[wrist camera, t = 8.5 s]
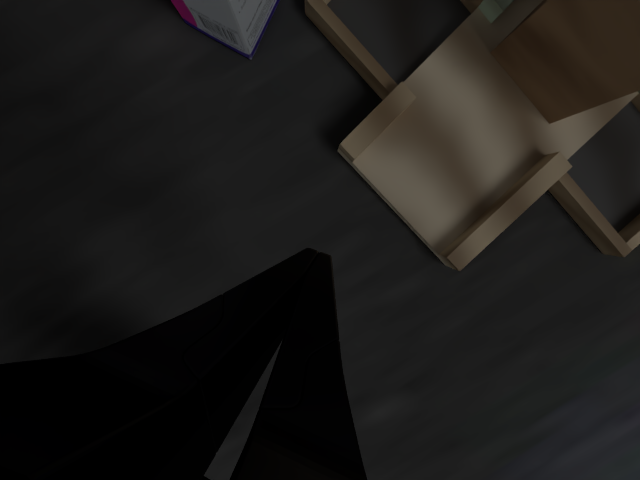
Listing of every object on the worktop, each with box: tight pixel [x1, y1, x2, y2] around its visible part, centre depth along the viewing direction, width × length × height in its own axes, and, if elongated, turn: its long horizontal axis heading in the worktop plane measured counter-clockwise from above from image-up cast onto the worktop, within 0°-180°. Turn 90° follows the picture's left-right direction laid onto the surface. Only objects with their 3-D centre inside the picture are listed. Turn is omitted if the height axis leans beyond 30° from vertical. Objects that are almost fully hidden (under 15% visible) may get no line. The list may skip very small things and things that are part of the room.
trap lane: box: [305, 0, 640, 271], centre depth 18 cm, size 23×31×4 cm
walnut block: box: [491, 0, 640, 124], centre depth 15 cm, size 7×7×9 cm
